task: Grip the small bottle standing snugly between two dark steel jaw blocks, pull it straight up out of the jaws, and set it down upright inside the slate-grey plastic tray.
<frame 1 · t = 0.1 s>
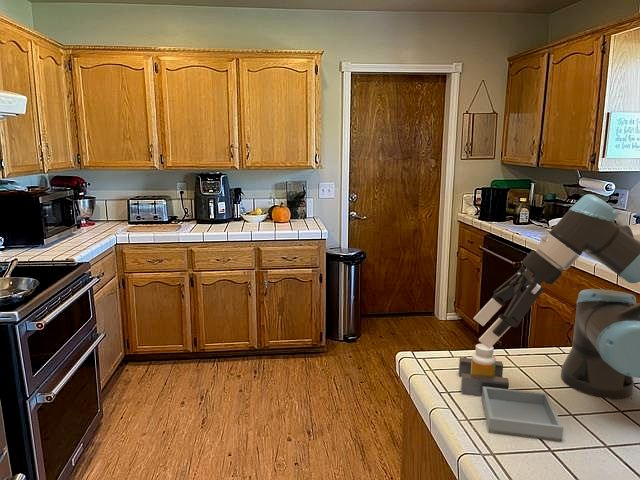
hand: (480, 332, 106), 15 cm above the countertop, tool tilted 35°, fingers open, 13 cm apart
supplement bottle: (481, 385, 114), on the countertop
grey tray: (518, 418, 100), on the countertop
steel jaws: (481, 384, 114), on the countertop
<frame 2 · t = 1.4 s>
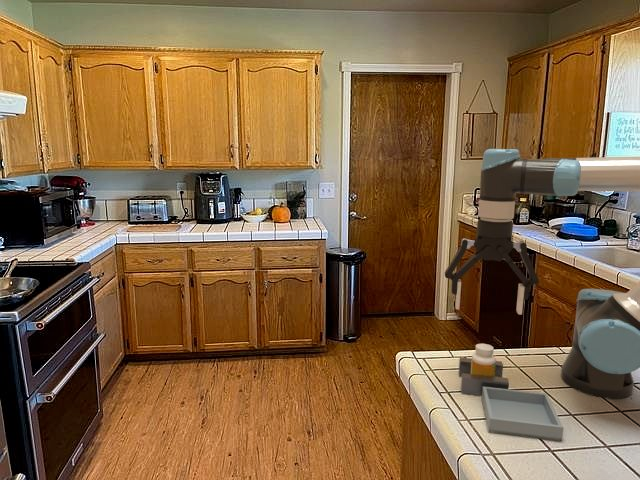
hand: (487, 310, 111), 19 cm above the countertop, tool pointing down, fingers open, 13 cm apart
nothing on the countertop moved.
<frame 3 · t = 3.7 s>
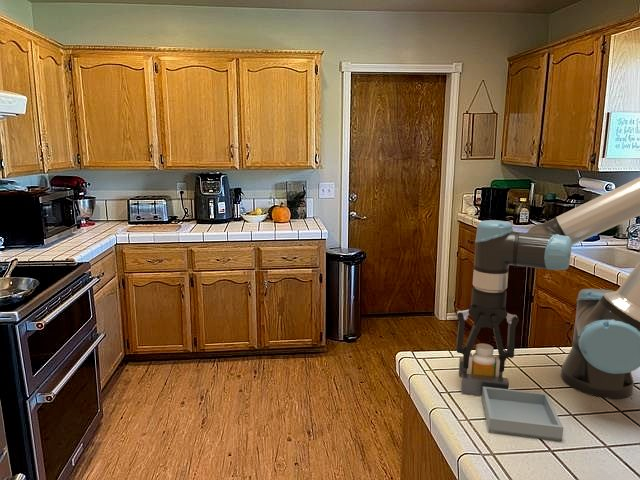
hand: (481, 381, 114), 1 cm above the countertop, tool pointing down, fingers closed on supplement bottle, 5 cm apart
supplement bottle: (481, 385, 114), on the countertop, touching gripper
when the fingers open (3 cm above the countertop, at t = 9.2 s): supplement bottle drops 2 cm, resting on grey tray.
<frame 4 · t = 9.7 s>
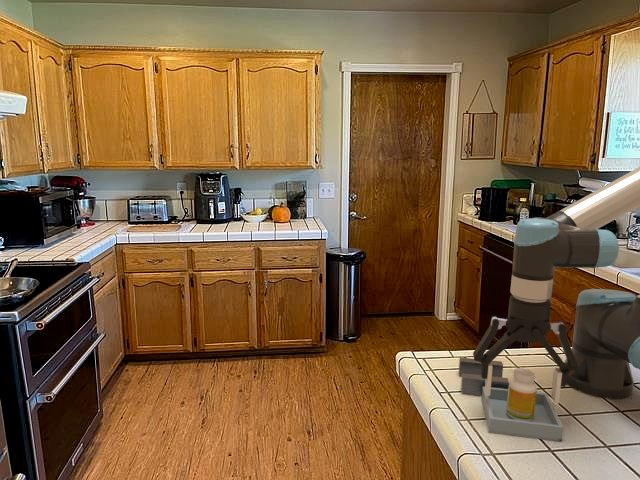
hand: (520, 396, 99), 5 cm above the countertop, tool pointing down, fingers open, 12 cm apart
supplement bottle: (519, 416, 100), resting on grey tray
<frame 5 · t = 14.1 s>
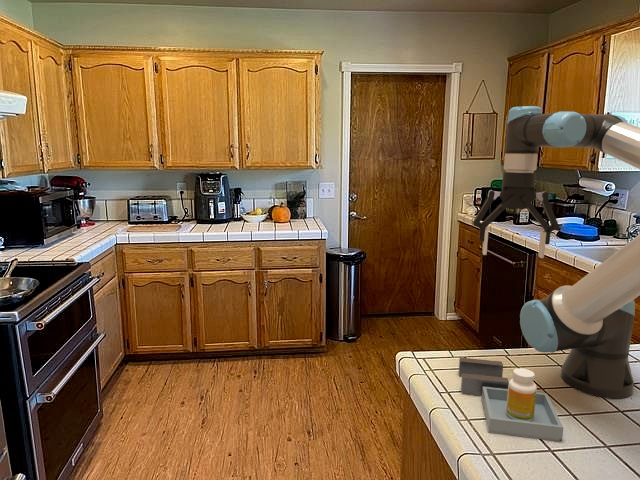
hand: (512, 255, 123), 29 cm above the countertop, tool pointing down, fingers open, 13 cm apart
nothing on the countertop moved.
at the end: supplement bottle inside the target area on the grey tray (0.1 cm from its centre), point 0.4 cm above the grey tray's base; supplement bottle tilted 0°; the gripper is holding nothing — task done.
